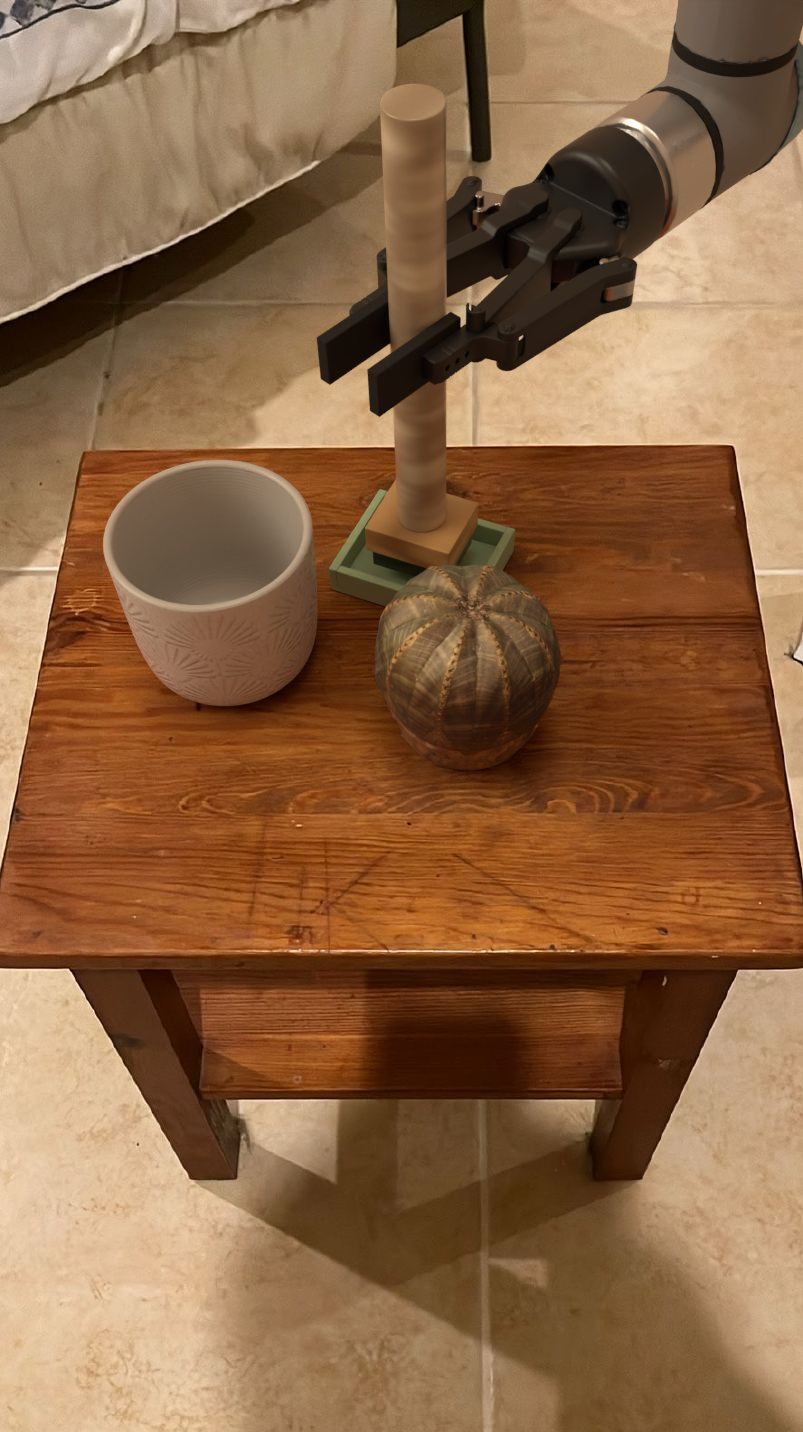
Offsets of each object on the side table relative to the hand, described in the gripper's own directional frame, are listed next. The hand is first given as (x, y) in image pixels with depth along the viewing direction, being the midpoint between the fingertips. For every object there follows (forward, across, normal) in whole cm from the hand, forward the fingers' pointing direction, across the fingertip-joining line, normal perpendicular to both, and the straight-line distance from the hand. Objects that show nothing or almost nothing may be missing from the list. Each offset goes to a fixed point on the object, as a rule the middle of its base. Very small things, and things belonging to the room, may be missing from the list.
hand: (348, 377), depth 70 cm
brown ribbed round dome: (+3, -12, -19) cm, 22 cm away
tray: (-5, 0, -19) cm, 20 cm away
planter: (+8, +4, -19) cm, 21 cm away
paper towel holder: (-5, 0, -18) cm, 18 cm away
